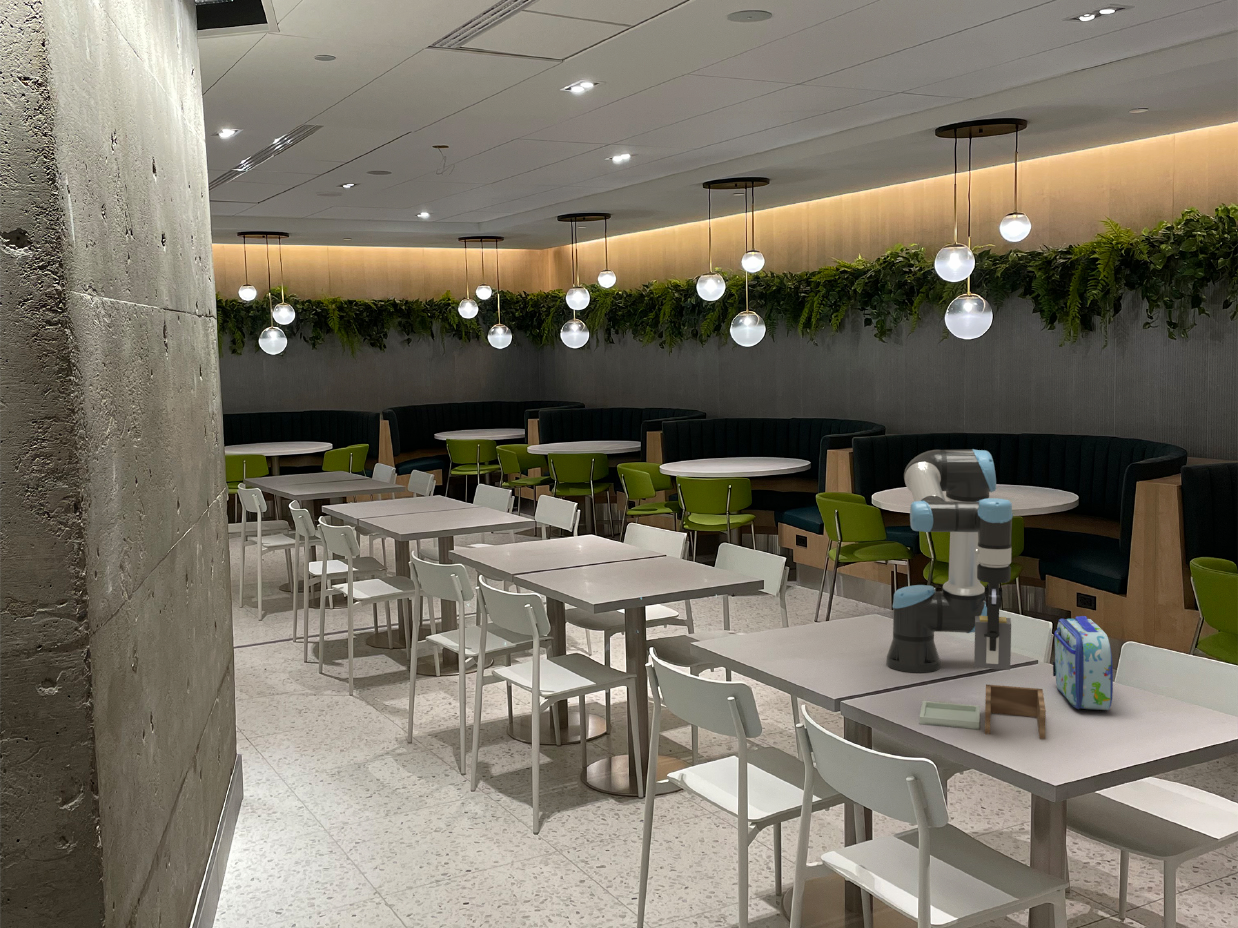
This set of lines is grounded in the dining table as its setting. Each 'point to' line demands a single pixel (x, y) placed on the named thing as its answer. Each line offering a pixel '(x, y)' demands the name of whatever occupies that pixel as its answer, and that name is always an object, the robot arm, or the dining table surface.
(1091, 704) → the lunch box
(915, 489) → the robot arm
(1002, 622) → the grey box yellow panel
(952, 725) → the tray
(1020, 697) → the bay
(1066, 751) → the dining table surface
